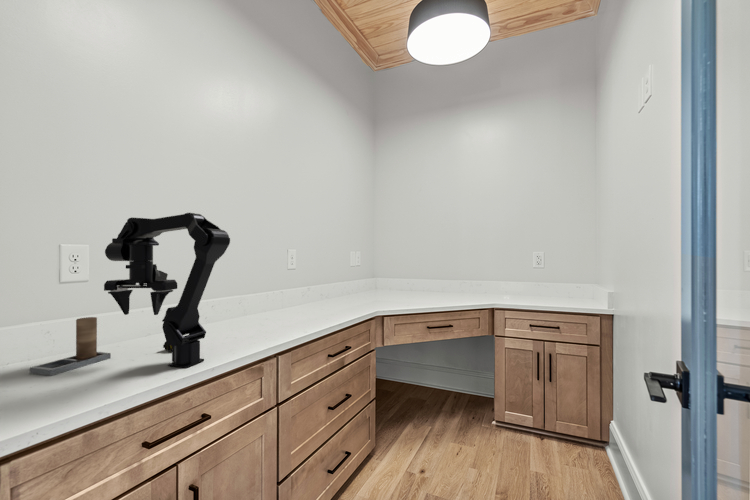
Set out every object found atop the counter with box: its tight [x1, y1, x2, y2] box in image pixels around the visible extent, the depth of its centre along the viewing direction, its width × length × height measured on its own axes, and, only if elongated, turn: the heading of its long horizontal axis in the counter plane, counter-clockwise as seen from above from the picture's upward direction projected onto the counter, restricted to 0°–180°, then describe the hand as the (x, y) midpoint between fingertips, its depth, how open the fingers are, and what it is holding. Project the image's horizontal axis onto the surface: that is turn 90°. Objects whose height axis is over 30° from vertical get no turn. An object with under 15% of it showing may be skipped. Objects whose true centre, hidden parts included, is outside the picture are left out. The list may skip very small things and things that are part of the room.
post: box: [75, 316, 98, 360], centre depth 97 cm, size 4×4×12 cm
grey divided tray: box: [29, 351, 112, 377], centre depth 94 cm, size 8×15×2 cm, turn 165°
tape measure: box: [162, 341, 173, 351], centre depth 109 cm, size 7×7×4 cm
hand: (141, 314), depth 99 cm, fingers open, 9 cm apart
